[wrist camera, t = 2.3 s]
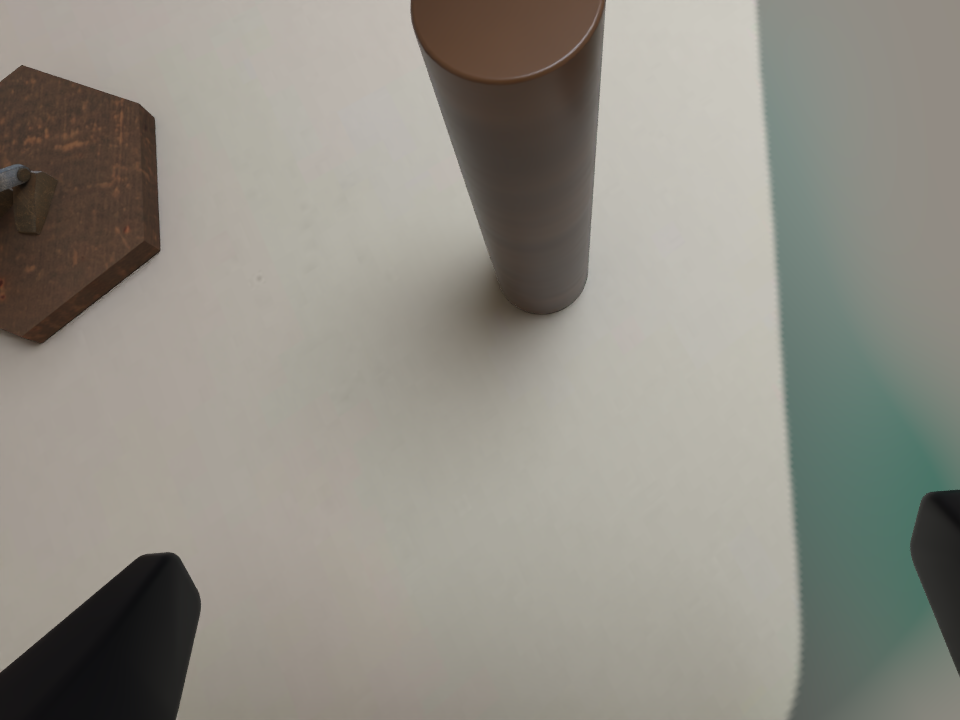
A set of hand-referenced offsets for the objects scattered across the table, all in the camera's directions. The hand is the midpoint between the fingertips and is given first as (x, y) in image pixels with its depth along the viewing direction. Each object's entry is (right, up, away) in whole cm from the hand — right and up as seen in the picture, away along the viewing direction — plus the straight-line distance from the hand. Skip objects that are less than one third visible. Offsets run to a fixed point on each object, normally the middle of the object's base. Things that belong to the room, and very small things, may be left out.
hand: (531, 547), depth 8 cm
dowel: (+1, +5, +15) cm, 16 cm away
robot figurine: (-17, +8, +18) cm, 26 cm away
